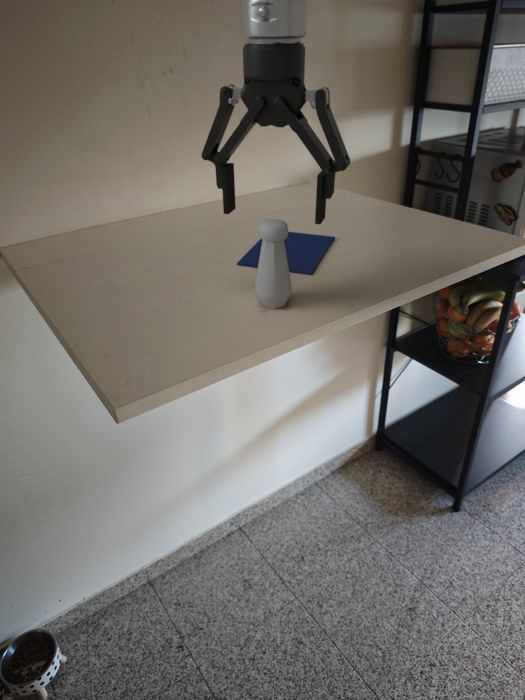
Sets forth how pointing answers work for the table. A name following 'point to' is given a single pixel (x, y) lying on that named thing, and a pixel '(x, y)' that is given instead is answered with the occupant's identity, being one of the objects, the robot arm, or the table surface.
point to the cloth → (295, 252)
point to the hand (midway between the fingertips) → (273, 216)
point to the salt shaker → (273, 265)
